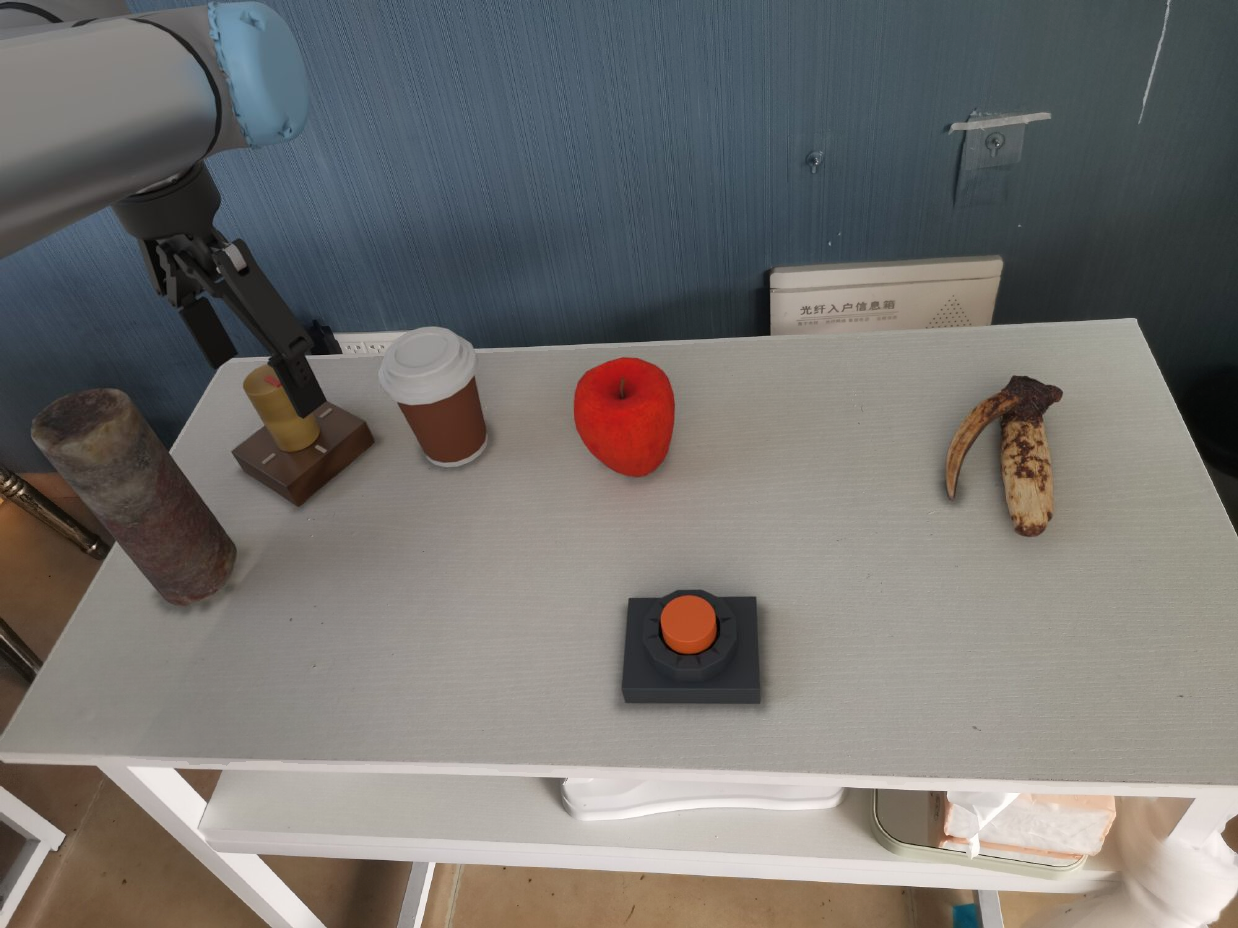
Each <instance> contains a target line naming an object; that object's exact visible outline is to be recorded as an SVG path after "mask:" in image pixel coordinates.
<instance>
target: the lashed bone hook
mask: <svg viewBox="0 0 1238 928" xmlns="http://www.w3.org/2000/svg"><path fill="white" fill-rule="evenodd" d="M1063 395H1064V391H1063V390H1062V389H1061V388H1060V387H1058V386H1056V385H1053V384H1045V383H1043V382H1041V381H1040V380H1038V379H1036V378H1032V377H1029V376H1027V375H1015V374H1014V375H1012V376H1011V378H1010V379H1009V381H1008V382H1007V384H1006V386H1004V387H1003V388H1001V390H1000V392H997V393H995V394H993V395H992V396H991V395H990V396H989V397H988V398H986V399H985V400H983V401H981V402H980V403H979V404H978V405H976V406H975V407H974V408H973V409H972V410H971V411H970V412H969V414H967V416H965V418H964V419H963V421H962V422H961V424H960V425H959V426H958V427H957V430H956V432H955V434H954V436H953V438H952V440H951V442H950V444H949V447H948V450H947V454H946V459H945V465H944V466H945V467H944V478H945V479H944V481H945V486H946V491H947V496H948V497H949V500H950V501H952V502H953V501H954V500H955V497H956V493H957V486H958V481H959V476H960V473H961V469H962V466H963V464H964V460H965V459H966V456H967V454H968V452H969V451H970V449H971V448H972V446H973V445H974V443H975V442H976V440H977V439H978V438H979V436H980V435H981V433H982V432H983V431H984V430H985V429H986V428H987V427H988V426H989V425H990V424H991V423H992V422H993V421H995V420H997V418H1000V420H999V427H1000V438H1001V442H1000V446H999V449H1000V450H999V451H1000V457H999V458H1000V475H1001V480H1002V482H1003V484H1004V492H1005V493H1004V494H1005V499H1006V501H1005V502H1006V504H1007V507H1008V512H1009V516H1010V517H1009V518H1010V520H1011V521H1012V522H1013V529H1014V532H1015V533H1016V534H1017V535H1018V536H1022V537H1026V538H1035V537H1038V536H1040V535H1041V534H1043V533H1044V532H1045V530H1046V528H1047V526H1048V522H1051V520H1052V518H1053V516H1054V510H1055V509H1054V508H1055V499H1054V491H1055V490H1054V488H1055V487H1054V478H1053V472H1052V461H1051V458H1052V457H1051V452H1050V451H1051V450H1050V448H1049V443H1048V439H1047V435H1046V427H1045V424H1044V423H1045V422H1044V416H1043V415H1044V414H1045V413H1046V412H1047V411H1048V410H1049V408H1050V406H1052V405H1053V404H1054V403H1060V401H1061V400H1062V398H1063Z"/></svg>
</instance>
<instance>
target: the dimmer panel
mask: <svg viewBox="0 0 1238 928" xmlns="http://www.w3.org/2000/svg"><path fill="white" fill-rule="evenodd" d="M312 413H313V415H314V417H315V419H316V421H317V423H318V425H319V427H320V433H319V436H318V438H317V439H316V440H315V441H314V442H313V443H312V444H311V445H309V446H308V447H306V448H304V449H302V450H299V451H294V452H286V451H282V450H280V449H279V448H278V447H277V446H276V444H275V442H274V440H273V439H272V437H271V435H270V434H269V432H268V430H267V429H266V427H265V425H264V424H263V426H262V427H261V428H259V429H257V430H256V431H255V432H254V433H253V434H251V435H250V436H249V437H248V438H246V439H245V440H244V441H242V442H241V443H240V444H238V445H237V446H236V447H234V448H233V449H232V450H231V451H230V453H231V454H232V456H233V458H234V459H235V460H236V462H237V464H238V465H239V467H240V468H241V470H242V471H243V473H245V474H246V475H248V476H250V477H251V478H253V479H254V480H256V481H257V482H259V483H261V484H262V485H264V486H265V487H267V488H268V489H270V490H271V491H273V492H274V493H276V494H278V495H279V496H280V497H282V498H284V499H285V500H287V501H288V502H290V503H291V504H293V505H294V506H296V507H298V508H300V507H301V506H302V505H303V504H305V502H306V501H308V500H309V499H311V497H313V496H314V495H315V494H316V493H317V492H318V491H320V490H321V489H322V488H323V487H324V486H325V485H327V484H328V483H329V482H331V480H332V479H334V478H335V477H337V475H338V474H340V473H341V472H342V471H343V470H344V469H346V468H347V467H348V466H349V465H350V464H351V463H353V462H354V461H355V460H356V459H358V457H360V456H361V455H362V454H363V453H365V451H367V450H368V449H369V448H370V447H372V446H373V445H374V444H375V443H376V441H375V439H374V436H373V434H372V432H371V429H370V427H369V425H368V423H367V421H366V420H365V419H362V418H360V417H359V416H356V415H354V414H353V413H351V412H349V411H347V410H345V409H344V408H342V407H340V406H338V405H337V404H334V403H332V402H331V401H328V400H327V401H326V402H325V403H324V404H322V405H321V406H320V407H318V408H317V409H316V410H315V411H313V412H312Z"/></svg>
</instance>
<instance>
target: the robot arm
mask: <svg viewBox="0 0 1238 928" xmlns="http://www.w3.org/2000/svg"><path fill="white" fill-rule="evenodd" d="M310 103H311V97H310V85H309V80H308V75H307V71H306V66H305V62H304V59H303V56H302V53H301V50H300V47H299V45H298V43H297V40H296V38H295V36H294V34H293V32H292V31H291V29H290V27H289V26H288V24H287V23H286V22H285V20H284V19H283V18H282V16H281V15H280V14H279V13H278V12H277V11H275V10H274V9H272V7H270V6H269V5H267V4H265V3H262V2H259V1H251V0H250V1H237V2H219V1H217V0H215V1H210V2H207V3H206V4H203V5H193V6H186V7H177V8H169V9H161V10H152V11H145V12H138V13H132V12H131V10H130V7H129V6H128V4H127V2H126V0H0V261H2V260H4V259H6V258H8V257H10V256H12V255H13V254H16V253H17V252H20V251H22V250H23V249H25V248H28V247H30V246H32V245H34V244H36V243H38V242H40V241H41V240H44V239H46V238H47V237H50V236H52V235H54V234H56V233H58V232H60V231H62V230H64V229H66V228H68V227H70V226H71V225H74V224H76V223H78V222H80V221H82V220H84V219H86V218H88V217H90V216H92V215H94V214H95V213H96V214H97V213H98V212H100V211H102V210H104V209H106V208H109V207H110V208H111V210H112V211H113V213H114V215H115V216H116V218H117V219H118V221H119V223H120V225H121V226H122V228H123V229H124V231H125V232H126V234H128V236H129V235H130V236H131V237H133V238H135V239H136V242H137V245H138V248H139V251H140V253H141V255H142V256H141V257H142V259H143V262H144V265H145V269H146V272H147V274H148V277H149V279H150V283H151V285H152V288H153V290H154V293H155V294H156V295H157V296H158V297H160V298H161V299H162V298H164V297H167V302H168V303H169V305H170V307H172V308H174V309H175V310H178V309H179V311H177V312H178V315H179V316H180V318H181V321H183V323H184V325H185V326H186V328H187V330H188V331H189V333H190V335H191V336H192V339H193V340H194V342H195V343H196V345H197V347H198V348H199V350H200V352H201V353H202V355H203V357H204V359H205V360H206V362H207V363H208V365H209V367H210V368H211V369H213V370H214V371H215V370H218V369H219V368H220V367H221V366H223V365H224V364H226V363H227V362H229V361H230V360H232V359H233V358H235V357H236V356H238V355H239V352H238V350H237V348H236V347H235V344H234V343H233V341H232V340H231V338H230V336H229V334H228V333H227V331H226V329H225V327H224V325H223V323H222V322H221V320H220V318H219V316H218V314H217V313H216V311H215V309H214V307H213V305H212V304H211V302H210V300H209V298H208V297H206V296H205V295H202V296H201V297H200V298H197V297H198V296H200V295H201V294H203V293H205V292H207V293H208V294H209V296H211V297H212V298H214V299H221V300H222V301H223V302H224V303H225V305H226V306H227V307H228V308H229V309H230V310H231V312H232V313H233V314H234V315H235V316H236V317H237V318H238V319H239V320H240V321H241V323H242V324H243V325H244V326H245V327H246V329H248V331H249V332H250V333H251V334H252V335H253V336H254V338H256V340H257V341H258V342H259V344H261V345H262V347H263V348H264V349H265V350H266V351H267V352H268V353H269V354H270V357H268V358H267V360H268V362H267V363H266V365H267V364H268V365H269V366H270V367H272V368H273V369H274V371H275V373H276V375H277V377H278V379H279V381H280V383H281V385H282V386H283V388H284V390H285V392H286V394H287V396H288V398H289V400H290V402H291V403H292V405H293V407H294V409H295V411H296V413H297V415H298V416H299V417H301V418H302V419H304V418H306V417H307V416H308V415H309V414H311V413H312V412H313V411H315V410H316V409H317V408H318V407H320V406H321V405H322V404H324V403H325V402H326V401H328V400H327V397H326V395H325V394H324V391H323V389H322V387H321V385H320V383H319V381H318V379H317V377H316V375H315V373H314V371H313V369H312V366H311V365H310V363H309V361H308V359H307V356H306V355H305V353H307V352H309V351H310V350H311V349H312V348H314V347H315V342H314V340H313V338H312V337H311V336H310V334H309V333H308V331H307V330H306V329H305V327H304V326H303V325H302V324H301V322H300V321H299V319H298V318H297V317H296V315H295V314H294V312H293V310H291V308H290V307H289V305H288V304H287V303H286V302H285V300H284V299H283V298H282V296H281V295H280V293H279V292H278V291H277V289H276V288H275V286H274V285H273V284H272V282H271V281H270V279H269V278H268V277H267V276H266V274H265V273H264V272H263V270H262V269H261V267H260V266H259V264H258V262H257V261H256V259H255V258H254V255H253V254H252V252H251V250H250V248H249V247H248V244H247V243H246V241H244V240H243V239H242V238H240V237H238V238H236V239H234V240H232V241H231V242H229V241H228V239H227V238H226V236H224V234H223V233H222V232H221V231H220V230H219V229H217V228H216V226H214V218H215V215H216V214H217V212H218V211H219V210H220V207H221V204H222V195H221V193H220V190H219V189H218V186H217V185H216V183H215V181H214V178H213V176H212V175H211V172H210V171H209V168H208V166H207V164H206V161H205V160H206V159H208V158H210V157H212V156H214V155H216V154H218V153H221V152H222V153H223V152H226V151H230V150H237V149H249V148H250V149H251V150H260V149H262V147H266V146H272V145H278V144H282V143H288V142H289V143H290V142H291V141H293V140H295V139H297V138H298V137H299V136H300V135H301V134H302V132H303V131H304V129H305V127H306V125H307V122H308V118H309V113H310V107H311V105H310ZM222 278H223V279H222ZM219 280H220V281H219Z"/></svg>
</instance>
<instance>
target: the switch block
mask: <svg viewBox="0 0 1238 928" xmlns="http://www.w3.org/2000/svg"><path fill="white" fill-rule="evenodd" d="M687 595H690V596H697V597H700V598H702V599H704V600H706V601H707V602H708V603H709V604H710V605H711V606H712V608H713V609H714V612H715V616H716V628H717V633H716V637H715V640H714V641H713V643H712V644H711V645H710V646H709V647H708V648H707V649H705V650H704V651H702V652H699V653H696V654H682V653H679V652H676V651H674V650H673V649H671V648H670V647H669V646H668V645H667V643H666V642H665V640H664V637H663V632H662V626H661V614H662V611H663V609H664V608H665V606H666V605H667V604H668V603H669V602H670V601H672V600H673V599H675V598H678V597H681V596H687ZM757 605H758V602H757V596H756V595H752V596H750V595H747V596H717V595H714V594H713V593H710V592H708V591H706V590H704V589H700V588H699V589H676V590H673V591H672V592H670V593H669V594H666V595H664V596H662V597H629V598H628V601H627V613H626V626H625V628H626V629H625V638H624V653H623V665H622V678H621V692H622V696H623V700H624V703H625V704H695V705H697V704H702V705H703V704H706V705H707V704H708V705H709V704H712V705H713V704H715V705H719V704H720V705H724V704H725V705H726V704H727V705H733V704H734V705H760V704H761V680H760V677H761V676H760V655H759V654H760V653H759V651H760V650H759V628H758V626H759V625H758V606H757Z"/></svg>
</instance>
